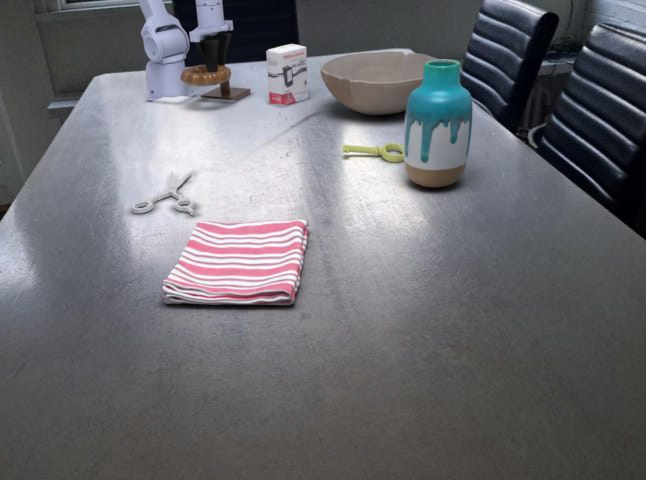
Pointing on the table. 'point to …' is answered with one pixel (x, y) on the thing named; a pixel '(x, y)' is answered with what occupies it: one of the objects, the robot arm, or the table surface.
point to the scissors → (169, 191)
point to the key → (378, 151)
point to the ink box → (287, 74)
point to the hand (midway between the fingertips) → (216, 70)
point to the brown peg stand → (227, 92)
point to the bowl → (375, 80)
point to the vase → (438, 126)
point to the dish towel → (239, 264)
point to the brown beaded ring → (205, 76)
